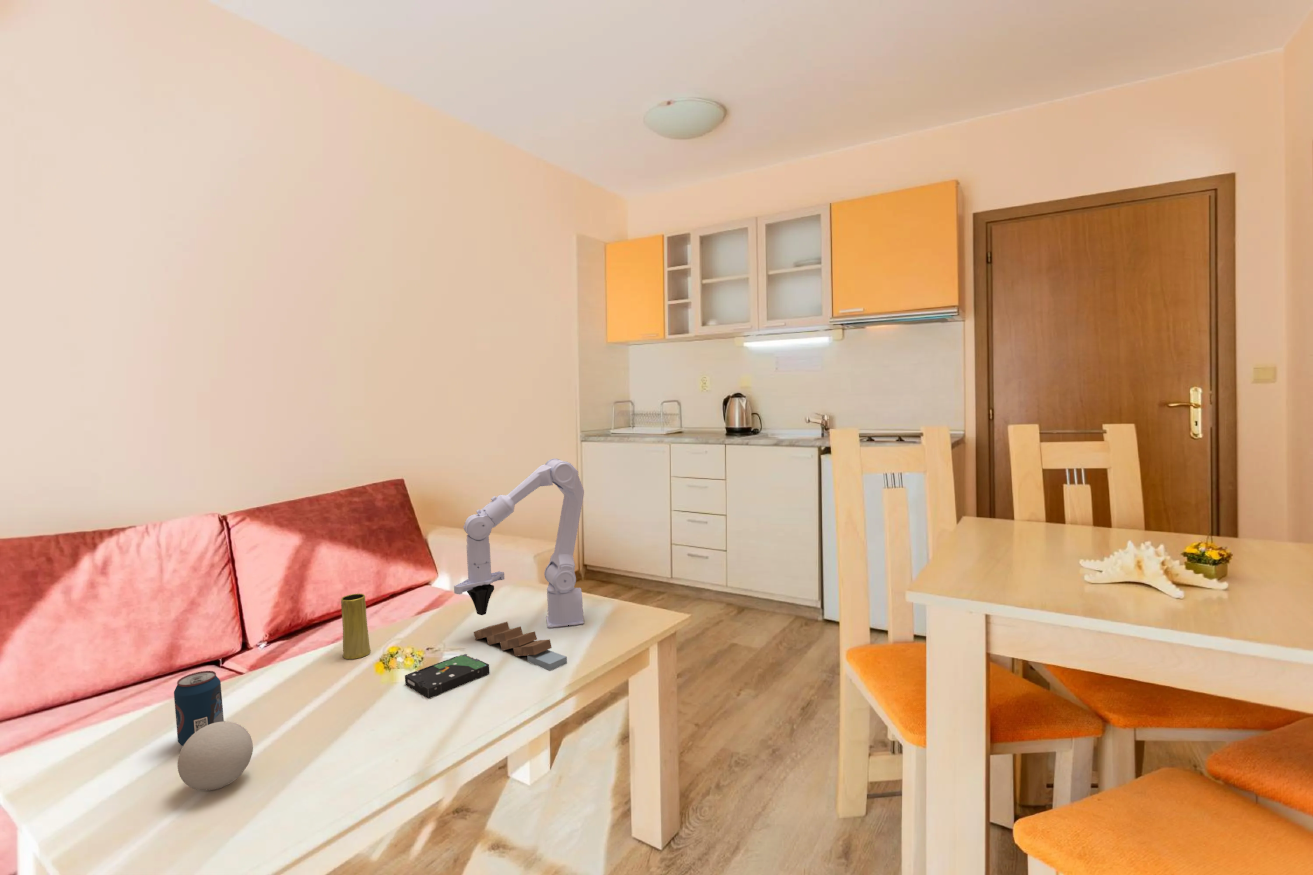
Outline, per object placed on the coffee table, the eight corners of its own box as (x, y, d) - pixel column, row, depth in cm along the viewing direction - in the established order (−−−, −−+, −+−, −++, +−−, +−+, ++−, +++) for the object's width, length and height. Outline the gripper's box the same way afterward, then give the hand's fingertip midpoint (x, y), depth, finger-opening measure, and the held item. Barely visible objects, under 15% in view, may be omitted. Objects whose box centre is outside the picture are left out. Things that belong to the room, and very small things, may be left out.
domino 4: (544, 656, 150) (567, 665, 145) (527, 663, 146) (550, 672, 141) (544, 648, 150) (566, 656, 145) (527, 655, 146) (549, 664, 141)
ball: (167, 809, 96) (161, 747, 96) (197, 771, 106) (193, 714, 105) (240, 798, 99) (236, 736, 98) (264, 762, 108) (260, 706, 108)
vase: (337, 657, 151) (333, 599, 150) (357, 647, 157) (354, 591, 156) (356, 661, 149) (352, 602, 148) (376, 650, 155) (372, 594, 154)
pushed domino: (491, 633, 164) (509, 629, 159) (475, 639, 160) (492, 635, 155) (489, 626, 164) (507, 621, 159) (473, 631, 160) (490, 627, 156)
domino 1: (505, 638, 161) (522, 634, 155) (488, 644, 157) (506, 640, 152) (503, 630, 161) (520, 626, 156) (486, 636, 157) (503, 632, 152)
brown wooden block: (519, 643, 157) (537, 639, 152) (502, 650, 153) (519, 645, 148) (516, 636, 157) (534, 631, 152) (499, 642, 153) (517, 637, 148)
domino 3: (532, 649, 153) (551, 647, 148) (514, 656, 149) (534, 654, 144) (530, 641, 153) (549, 639, 148) (513, 647, 150) (532, 646, 144)
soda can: (178, 739, 116) (172, 676, 116) (223, 726, 121) (218, 665, 120) (178, 756, 111) (172, 690, 110) (226, 741, 115) (220, 678, 114)
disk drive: (429, 701, 129) (490, 675, 141) (428, 688, 129) (490, 663, 140) (404, 687, 136) (464, 663, 147) (403, 675, 136) (464, 651, 147)
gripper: (465, 571, 153) (468, 625, 154) (511, 557, 165) (513, 608, 166) (447, 567, 157) (450, 620, 158) (493, 553, 169) (495, 603, 170)
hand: (481, 613), depth 162 cm, fingers closed
